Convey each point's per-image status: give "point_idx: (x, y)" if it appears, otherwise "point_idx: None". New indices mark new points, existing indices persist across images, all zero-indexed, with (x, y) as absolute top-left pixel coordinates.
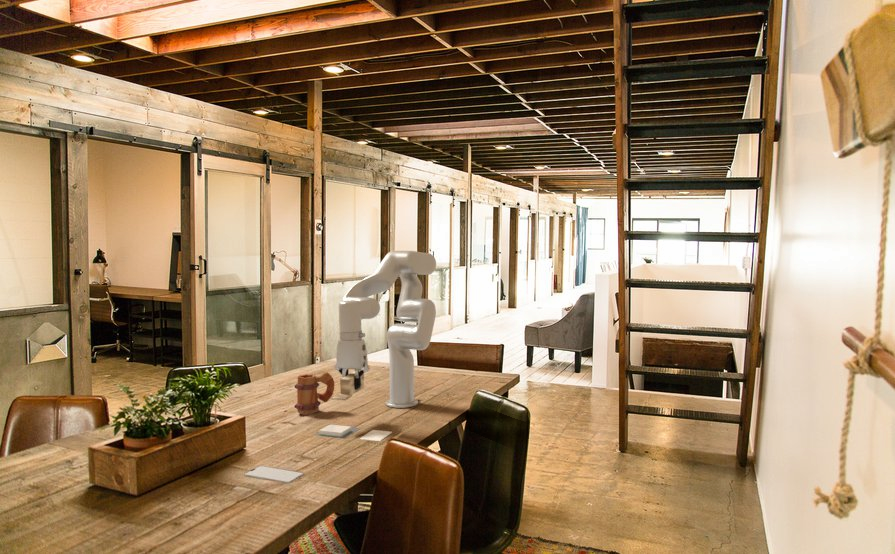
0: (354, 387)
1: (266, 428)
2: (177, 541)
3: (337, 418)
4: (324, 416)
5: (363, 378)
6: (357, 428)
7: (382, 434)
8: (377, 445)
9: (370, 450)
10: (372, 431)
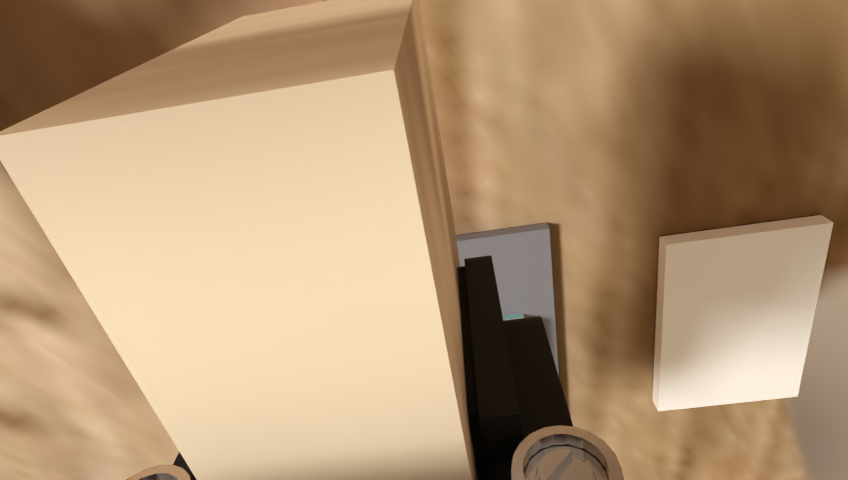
0: None
1: (6, 431)
2: None
3: (169, 48)
4: (22, 49)
5: (416, 44)
6: (532, 251)
7: (777, 299)
8: (784, 411)
9: (771, 473)
10: (680, 274)
